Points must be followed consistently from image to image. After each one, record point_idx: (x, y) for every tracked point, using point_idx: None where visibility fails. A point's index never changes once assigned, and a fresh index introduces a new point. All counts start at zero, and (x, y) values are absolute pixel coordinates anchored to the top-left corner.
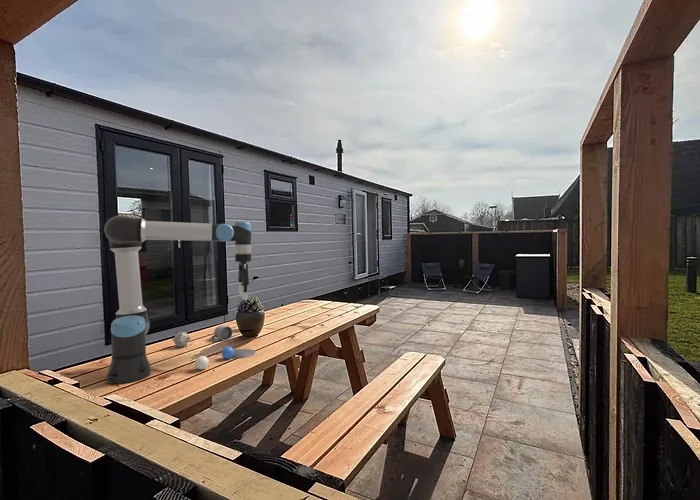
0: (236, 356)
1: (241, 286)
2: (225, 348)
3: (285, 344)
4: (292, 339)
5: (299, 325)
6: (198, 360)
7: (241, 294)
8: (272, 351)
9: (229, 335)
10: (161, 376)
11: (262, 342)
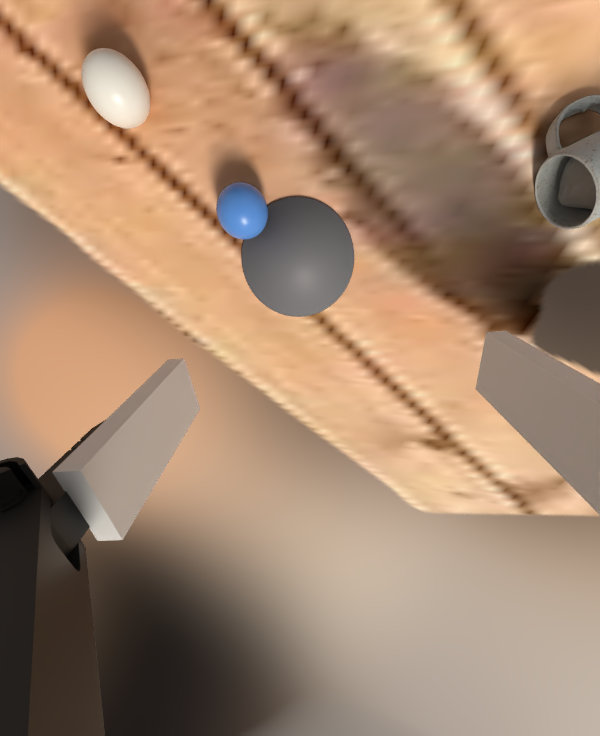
0: (260, 247)
1: (560, 424)
2: (226, 200)
3: (353, 413)
4: (402, 438)
5: None
6: (82, 66)
7: (486, 363)
8: (289, 369)
9: (573, 211)
10: None
11: (414, 348)
